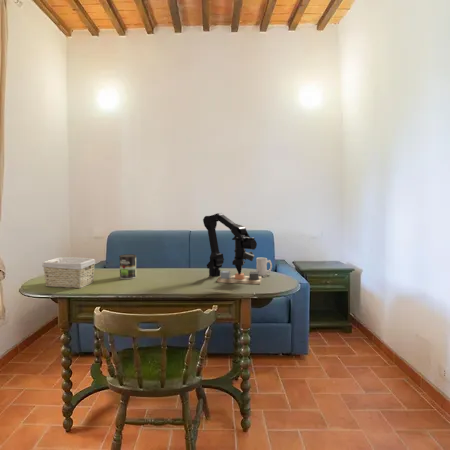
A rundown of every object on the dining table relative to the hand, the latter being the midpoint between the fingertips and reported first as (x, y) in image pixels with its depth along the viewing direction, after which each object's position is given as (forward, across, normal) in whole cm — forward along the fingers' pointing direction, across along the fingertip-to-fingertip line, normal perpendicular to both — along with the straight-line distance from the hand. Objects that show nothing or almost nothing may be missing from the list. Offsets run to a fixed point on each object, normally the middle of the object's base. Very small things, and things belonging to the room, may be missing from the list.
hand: (239, 274), depth 192 cm
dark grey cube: (+4, 0, -9) cm, 9 cm away
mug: (+6, +18, -14) cm, 23 cm away
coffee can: (+6, +2, +71) cm, 72 cm away
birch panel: (+5, 0, 0) cm, 5 cm away
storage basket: (+6, -20, +96) cm, 99 cm away
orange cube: (+5, 0, 0) cm, 5 cm away
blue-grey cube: (+4, 0, +8) cm, 9 cm away
